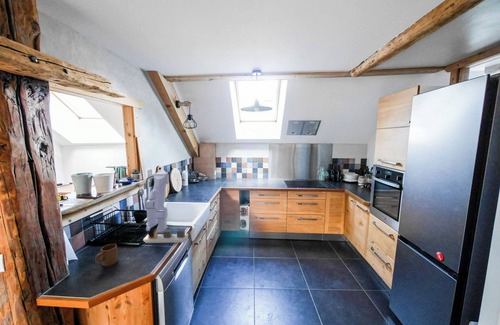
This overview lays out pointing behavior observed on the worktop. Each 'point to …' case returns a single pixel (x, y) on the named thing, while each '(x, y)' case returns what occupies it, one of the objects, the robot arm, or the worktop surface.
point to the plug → (154, 234)
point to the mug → (108, 255)
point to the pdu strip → (165, 240)
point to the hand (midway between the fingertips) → (152, 235)
